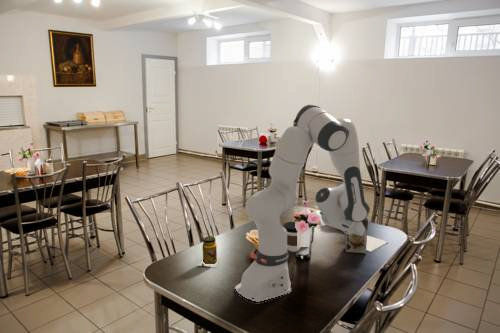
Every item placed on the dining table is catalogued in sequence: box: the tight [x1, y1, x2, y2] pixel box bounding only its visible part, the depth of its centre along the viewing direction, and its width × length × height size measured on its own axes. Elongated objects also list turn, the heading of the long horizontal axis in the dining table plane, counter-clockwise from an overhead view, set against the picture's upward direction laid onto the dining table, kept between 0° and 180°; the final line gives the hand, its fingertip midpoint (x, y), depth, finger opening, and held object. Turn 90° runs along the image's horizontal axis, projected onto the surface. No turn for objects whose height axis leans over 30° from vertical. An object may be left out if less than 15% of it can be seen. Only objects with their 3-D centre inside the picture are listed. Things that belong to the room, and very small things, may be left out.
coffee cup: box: [282, 221, 298, 253], centre depth 175 cm, size 11×11×12 cm
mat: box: [366, 234, 389, 253], centre depth 182 cm, size 16×13×1 cm
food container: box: [311, 225, 317, 243], centre depth 186 cm, size 12×6×10 cm, turn 179°
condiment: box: [202, 235, 218, 264], centre depth 161 cm, size 7×8×12 cm
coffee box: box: [344, 216, 369, 254], centre depth 172 cm, size 9×6×16 cm
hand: (348, 233), depth 168 cm, fingers closed
